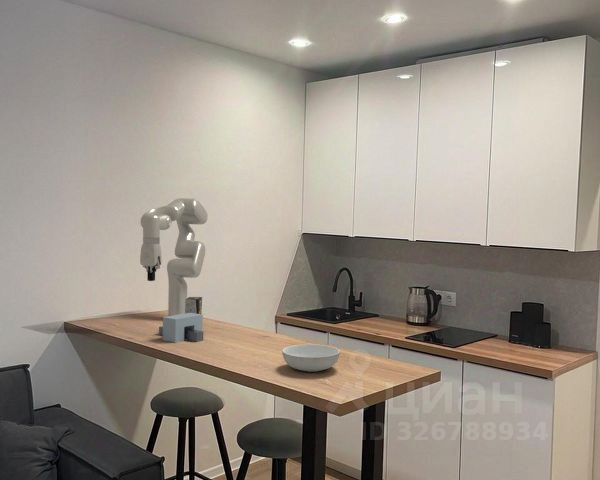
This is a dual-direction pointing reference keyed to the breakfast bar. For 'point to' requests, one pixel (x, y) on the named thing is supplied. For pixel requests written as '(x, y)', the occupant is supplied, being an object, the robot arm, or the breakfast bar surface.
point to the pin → (189, 334)
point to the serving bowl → (310, 357)
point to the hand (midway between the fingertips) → (151, 280)
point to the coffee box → (193, 305)
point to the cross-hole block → (180, 325)
